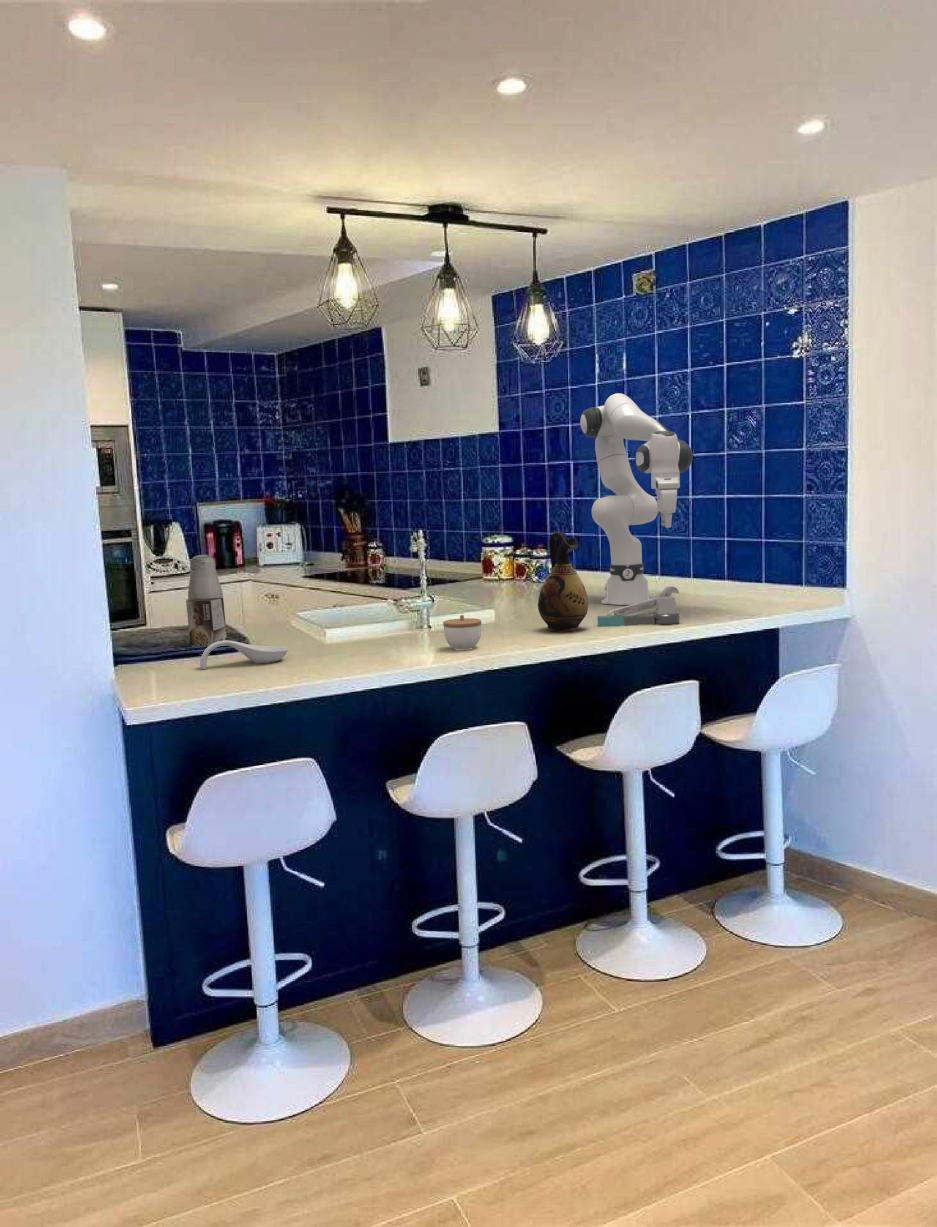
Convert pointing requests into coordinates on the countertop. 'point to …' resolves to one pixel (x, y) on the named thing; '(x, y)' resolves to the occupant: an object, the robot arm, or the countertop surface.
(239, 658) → the countertop surface
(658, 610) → the socket
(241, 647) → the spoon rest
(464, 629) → the lidded jar
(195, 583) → the grey tapered cylinder
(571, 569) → the ceramic jug
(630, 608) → the wrench
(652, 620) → the ratchet
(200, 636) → the coffee box
